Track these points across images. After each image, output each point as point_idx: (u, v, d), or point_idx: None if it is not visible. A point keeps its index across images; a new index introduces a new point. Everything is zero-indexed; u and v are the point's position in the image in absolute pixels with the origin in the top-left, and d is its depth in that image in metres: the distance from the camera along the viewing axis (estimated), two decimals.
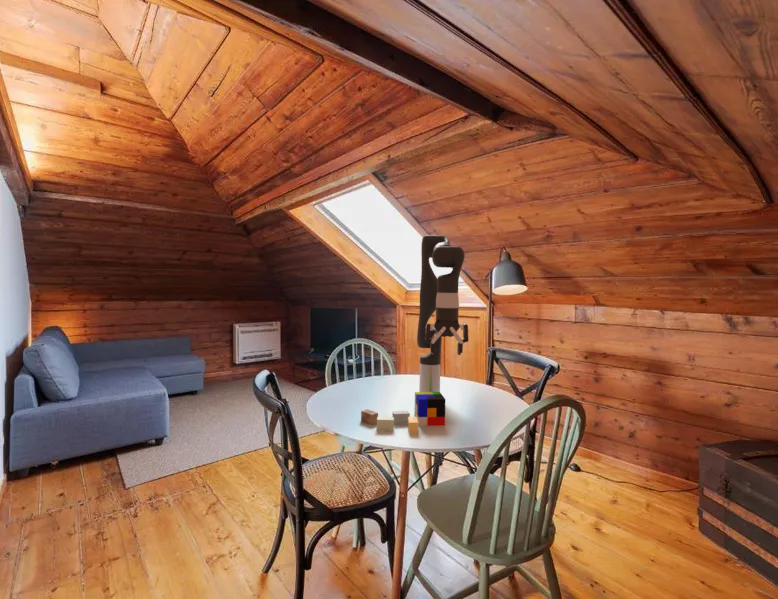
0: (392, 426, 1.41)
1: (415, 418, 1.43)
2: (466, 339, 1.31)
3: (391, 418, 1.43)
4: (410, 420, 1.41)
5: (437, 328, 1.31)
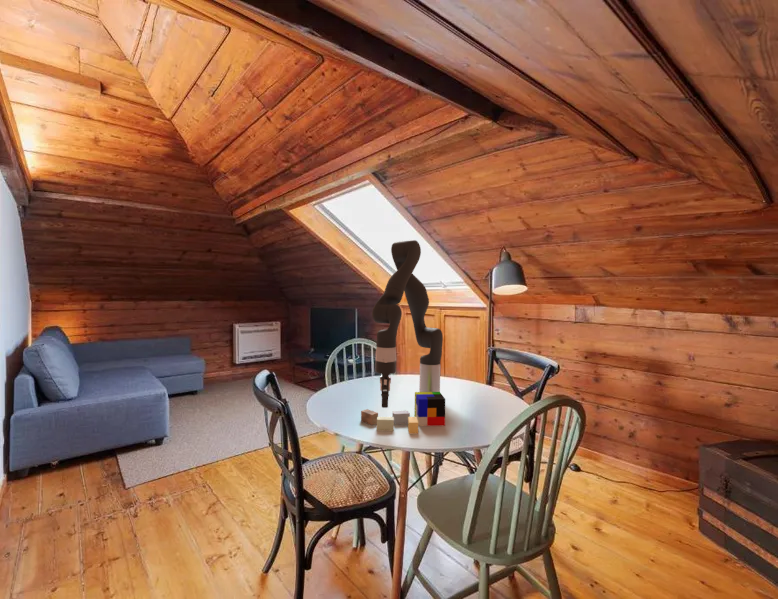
0: (392, 426, 1.41)
1: (415, 418, 1.43)
2: None
3: (391, 418, 1.43)
4: (410, 420, 1.41)
5: None
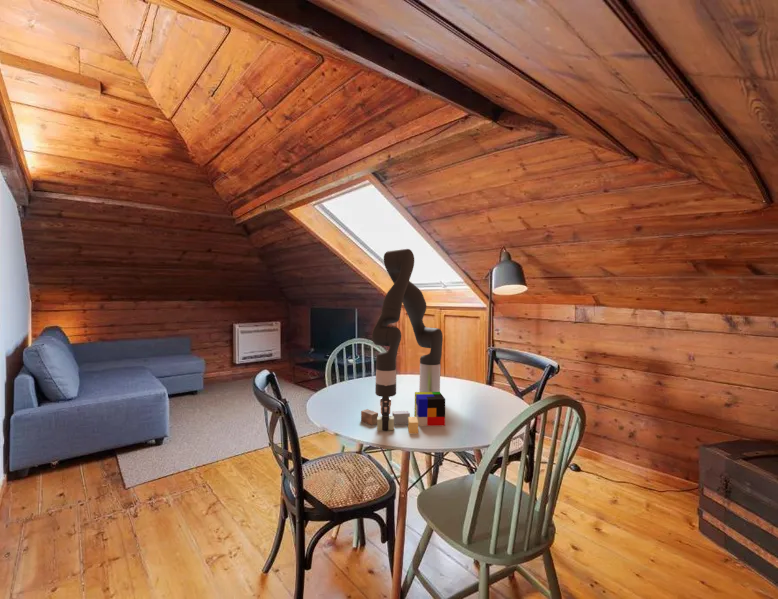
0: (392, 425, 1.41)
1: (415, 418, 1.43)
2: None
3: (391, 417, 1.43)
4: (410, 420, 1.41)
5: (388, 404, 1.39)
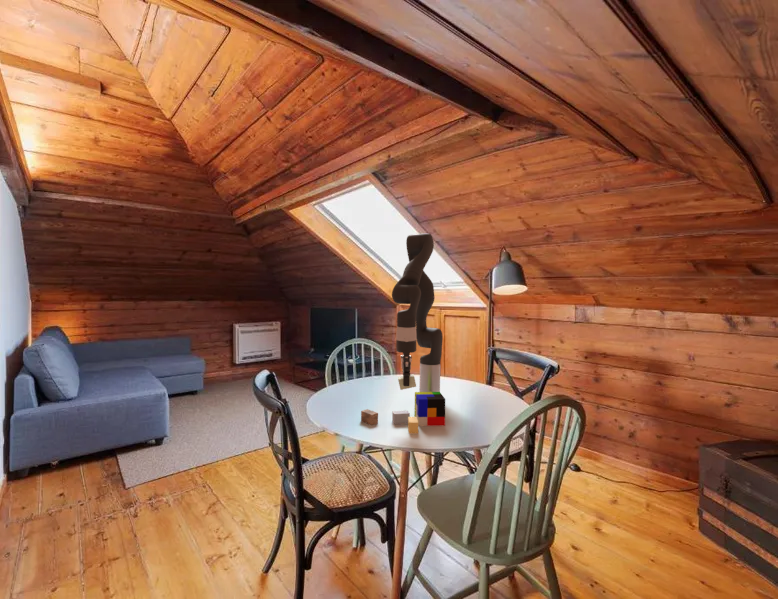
0: (414, 382, 1.45)
1: (415, 418, 1.43)
2: None
3: (411, 375, 1.47)
4: (410, 420, 1.41)
5: (409, 360, 1.43)
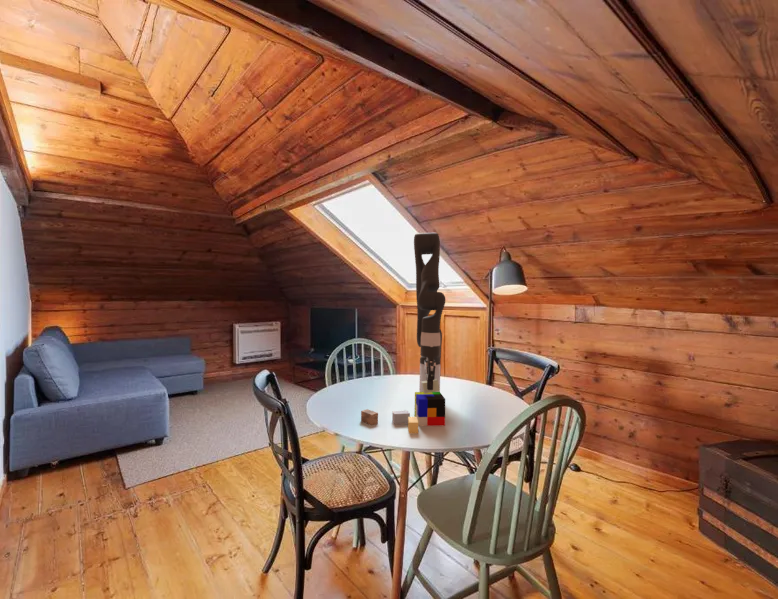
0: (437, 386, 1.50)
1: (415, 418, 1.43)
2: None
3: (435, 379, 1.51)
4: (410, 420, 1.41)
5: (433, 364, 1.48)
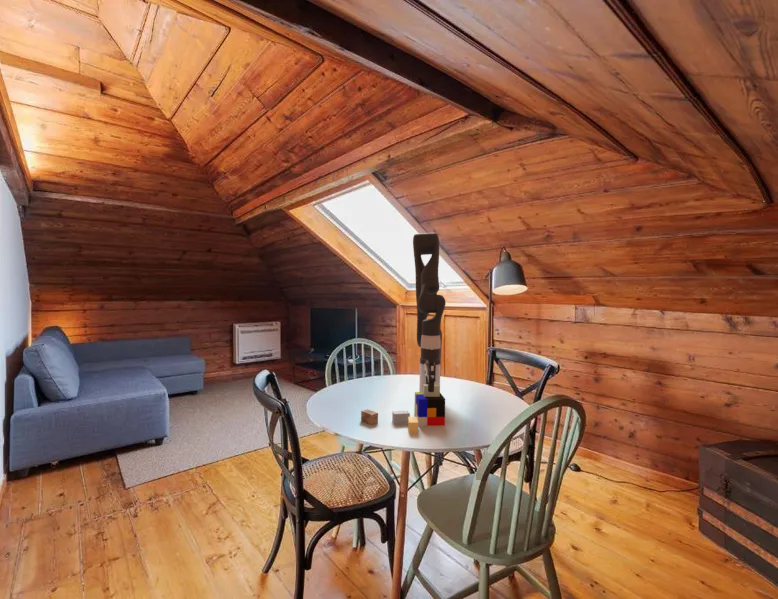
0: (438, 392, 1.50)
1: (415, 418, 1.43)
2: None
3: (437, 385, 1.52)
4: (410, 420, 1.41)
5: None
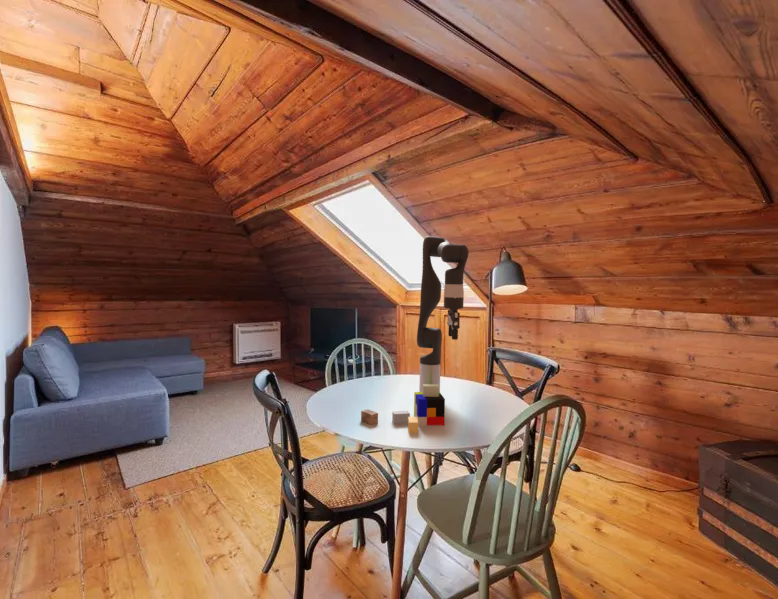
0: (438, 392, 1.50)
1: (415, 418, 1.43)
2: None
3: (436, 385, 1.52)
4: (410, 420, 1.41)
5: None
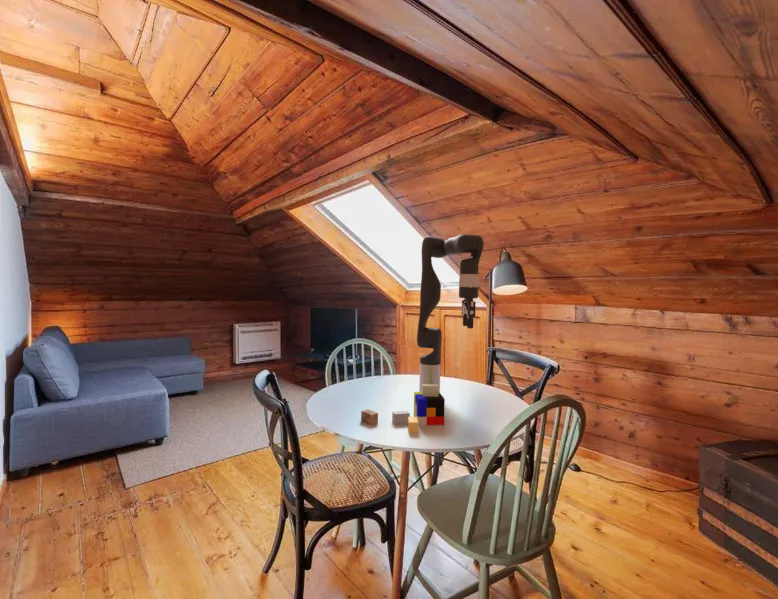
0: (437, 392, 1.50)
1: (415, 418, 1.43)
2: None
3: (436, 385, 1.52)
4: (410, 420, 1.41)
5: None
